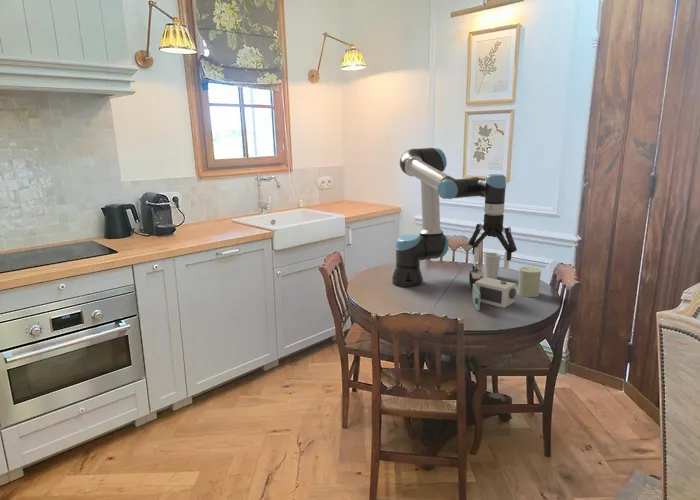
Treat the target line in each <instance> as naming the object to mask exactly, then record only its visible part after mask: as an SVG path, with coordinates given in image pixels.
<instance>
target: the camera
mask: <svg viewBox="0 0 700 500" xmlns="http://www.w3.org/2000/svg"><path fill="white" fill-rule="evenodd" d="M468 276H469V279H468V280H469V287H470V286H471V287H470V289H471V291H470V292H471V293H472V288H473V284H475V282H476V281H478V280H480V279H482V278H484V276H483V273H482V270H481V269H478V267H477V265H476V263H474V264H472V269H470V270H469V275H468Z"/></svg>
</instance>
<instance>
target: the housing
mask: <svg viewBox="0 0 700 500" xmlns="http://www.w3.org/2000/svg"><path fill="white" fill-rule="evenodd" d="M475 285H476V287H477V288H478V290H479V292H480V293H481V294H480V303H483V304H486V305H492V306H495V307H500V308H503V309H505V308H506V307H507V308H508V307H509V306H510V305H513V304H514V303H515V297H516V294H517V290H516V283H514V282H509V281H506V280H500V279H498V278H497V279H492V278H487V277H485V276H483V278H482V279H480V280H478V281H476V282H475Z"/></svg>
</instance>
